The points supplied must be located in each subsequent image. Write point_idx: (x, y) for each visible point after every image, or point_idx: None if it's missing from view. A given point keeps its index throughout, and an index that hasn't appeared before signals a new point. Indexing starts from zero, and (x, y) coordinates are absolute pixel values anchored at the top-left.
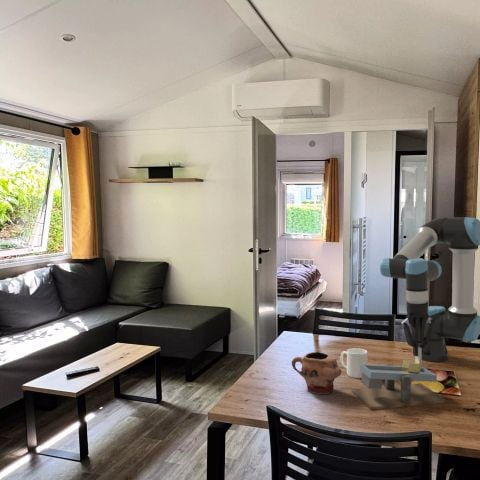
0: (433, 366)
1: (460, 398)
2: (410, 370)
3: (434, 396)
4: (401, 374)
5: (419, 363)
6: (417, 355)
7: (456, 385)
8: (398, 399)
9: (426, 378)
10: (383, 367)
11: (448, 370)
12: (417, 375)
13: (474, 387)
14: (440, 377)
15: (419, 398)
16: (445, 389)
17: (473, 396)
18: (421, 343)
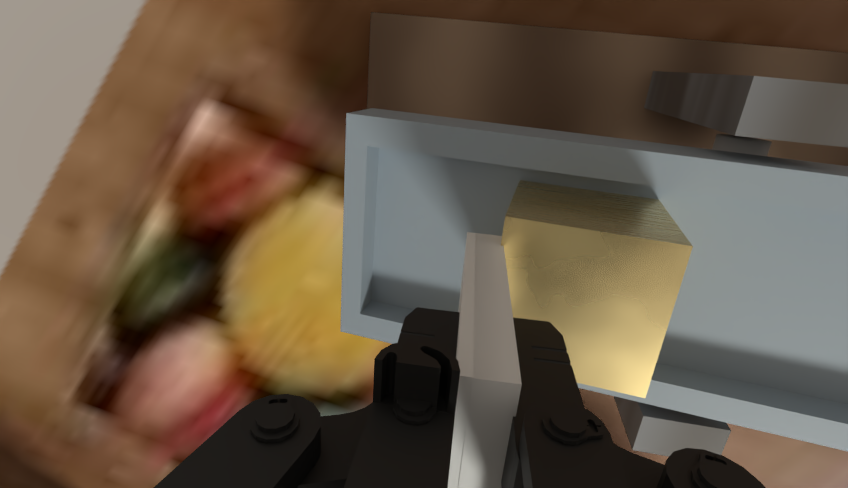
0: (143, 479)
1: (236, 46)
2: (645, 212)
3: (413, 94)
4: (817, 172)
5: (500, 245)
6: (519, 322)
7: (151, 234)
8: (715, 132)
9: (470, 122)
10: (833, 411)
11: (92, 413)
12: (582, 142)
13: (61, 172)
14: (182, 358)
15: (546, 97)
16: (249, 206)
17: (135, 48)
18: (435, 463)
